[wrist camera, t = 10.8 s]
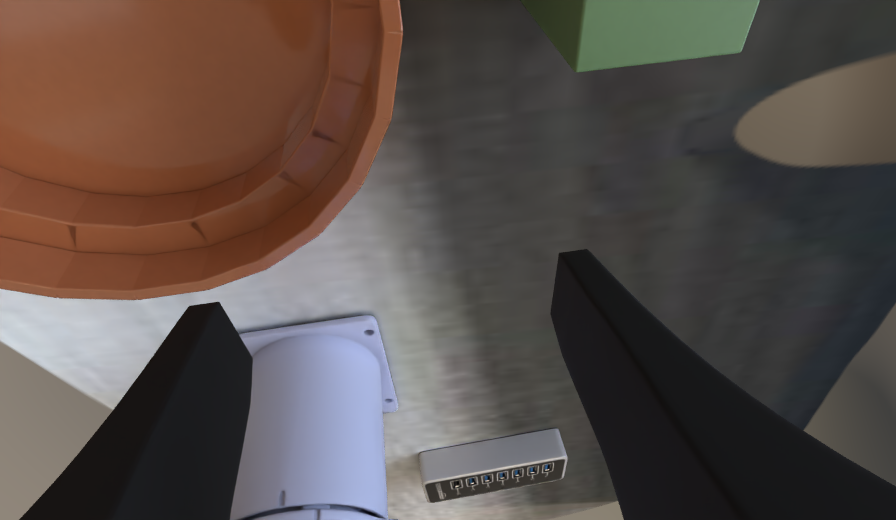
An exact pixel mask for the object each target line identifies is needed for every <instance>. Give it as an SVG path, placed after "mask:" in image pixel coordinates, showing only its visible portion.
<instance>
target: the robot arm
mask: <svg viewBox="0 0 896 520" xmlns="http://www.w3.org/2000/svg"><path fill="white" fill-rule="evenodd" d="M551 317H552V321H553V324H554V328H555V332H556V335H557V339H558V342H559V346H560V349H561V353H562V356H563V358H564V361H565V363H566V366H567V368H568V370H569V373H570V375H571V378H572V380H573V383H574V385H575V387H576V390H577V392H578V395H579V397H580V399H581V402H582V404H583V406H584V409H585V411H586V414H587V416H588V418H589V421H590V423H591V426H592V428H593V430H594V433H595V435H596V438H597V440H598V442H599V445H600V447H601V450H602V453H603V455H604V458H605V461H606V463H607V466H608V469H609V473H610V476H611V479H612V482H613V486H614V489H615V492H616V495H617V498H618V502H619V505H620V508H621V511H622V515H623V518H624V520H896V486H894V485H892V484H890V483H889V482H887V481H885V480H884V479H881V478H880V477H878V476H877V475H875V474H873V473H871V472H870V471H868V470H866V469H864V468H863V467H861V466H859V465H857V464H856V463H854V462H852V461H851V460H849V459H847V458H846V457H844V456H842V455H841V454H839V453H837V452H836V451H834V450H833V449H831V448H829V447H828V446H826V445H825V444H823V443H821V442H820V441H819V440H817V439H815V438H814V437H812V436H811V435H809V434H807V433H806V432H805V431H803V430H801V429H800V428H798V427H797V426H795V425H794V424H792V423H790V422H789V421H787V420H786V419H784V418H783V417H781V416H780V415H778V414H777V413H775V412H774V411H772V410H771V409H770V408H768V407H767V406H765V405H764V404H762V403H761V402H760V401H758V400H757V399H755V398H754V397H752V396H751V395H750V394H748V393H747V392H746V391H744V390H743V389H742V388H740V387H739V386H738V385H736V384H735V383H734V382H732V381H731V380H729V379H728V378H727V377H726V376H724V375H723V374H722V373H720V372H719V371H718V370H717V369H715V368H714V367H713V366H712V365H710V364H709V363H708V362H707V361H705V360H704V359H703V358H702V357H701V356H699V355H698V354H697V353H696V352H695V351H693V350H692V349H691V348H690V347H689V346H688V345H686V344H685V343H684V342H683V341H682V340H680V339H679V338H678V337H677V336H676V335H675V334H674V333H673V332H671V331H670V330H669V329H668V328H667V327H666V326H665V325H664V324H663V323H662V322H661V321H659V320H658V319H657V318H656V317H655V316H654V315H653V314H652V313H651V312H650V311H649V310H648V309H647V308H645V307H644V306H643V305H642V304H641V303H640V302H639V301H638V300H637V299H636V298H635V297H634V296H633V295H632V294H631V293H630V292H629V291H628V290H627V289H626V288H625V287H624V286H623V285H622V284H621V283H620V282H619V281H618V280H617V279H616V278H615V277H614V276H613V275H612V274H611V273H610V272H609V271H608V270H607V269H606V268H605V267H604V266H603V265H602V264H601V263H600V262H599V261H598V259H597V258H596V257H595V256H594V255H593V254H592V253H591V252H590V251H588V250H587V249H584V250H577V251H570V252H563V253H559V257H558V264H557V271H556V278H555V285H554V292H553V299H552V306H551ZM397 409H398V401H397V397H396V393H395V389H394V385H393V381H392V377H391V374H390V370H389V366H388V362H387V358H386V354H385V351H384V347H383V343H382V339H381V335H380V331H379V328H378V324H377V320H376V318H375V317H373V316H370V315H363V316H356V317H349V318H343V319H336V320H329V321H322V322H316V323H309V324H302V325H295V326H288V327H282V328H275V329H268V330H261V331H254V332H248V333H241V334H238V332H237V331H236V329H235V327H234V326H233V324H232V322H231V321H230V319H229V317H228V316H227V314H226V312H225V311H224V309H223V307H222V306H221V304H220V303H219V302H214V303H207V304H200V305H193V306H189V307H188V308H187V310H186V311H185V312H184V314H183V315H182V316H181V318H180V319H179V320H178V322H177V323H176V325H175V326H174V327H173V329H172V330H171V332H170V333H169V334H168V336H167V337H166V339H165V340H164V342H163V343H162V344H161V346H160V347H159V349H158V350H157V351H156V353H155V354H154V356H153V357H152V358H151V360H150V361H149V363H148V364H147V365H146V367H145V368H144V370H143V371H142V372H141V374H140V375H139V376H138V378H137V379H136V380H135V382H134V383H133V384H132V386H131V387H130V388H129V390H128V391H127V393H126V394H125V395H124V397H123V398H122V399H121V401H120V402H119V403H118V405H117V406H116V407H115V409H114V410H113V411H112V413H111V414H110V415H109V416H108V418H107V419H106V420H105V421H104V423H103V424H102V425H101V426H100V428H99V429H98V430H97V431H96V432H95V434H94V435H93V436H92V438H91V439H90V440H89V441H88V442H87V444H86V445H85V446H84V447H83V449H82V450H81V451H80V453H79V454H78V455H77V456H76V457H75V458H74V460H73V461H72V462H71V463H70V464H69V465H68V467H67V468H66V469H65V470H64V471H63V472H62V474H61V475H60V476H59V477H58V478H57V479H56V481H55V482H54V483H53V484H52V485H51V486H50V487H49V488H48V489H47V490H46V491H45V493H44V494H43V495H42V496H41V497H40V498H39V499H38V500H37V501H36V502H35V503H34V504H33V506H32V507H31V508H30V509H29V510H28V511H27V512H26V513H25V514H24V515H23V517H21V518H20V519H19V520H398V519H388V509H387V486H386V466H385V446H384V427H383V414H384V413H390V412H394V411H396V410H397Z"/></svg>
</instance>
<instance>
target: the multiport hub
mask: <svg viewBox="0 0 896 520" xmlns="http://www.w3.org/2000/svg"><path fill="white" fill-rule="evenodd" d="M419 462H420V472H421V482H422V487H423V490H424V493H425V496H426V499H427V502H429V503H435V502H441V501H446V500H452V499H457V498H463V497H468V496H474V495H479V494H484V493H490V492H495V491H501V490H506V489H512V488H517V487H523V486H528V485H534V484H539V483H545V482H550V481H555V480H560V479H562V478H563V477H564V473H565V468H566V463H567V455H566V452H565V448H564V445H563V442H562V439H561V436H560V433H559V430H558V429H549V430H543V431H537V432H532V433H526V434H521V435H515V436H509V437H504V438H498V439H493V440H487V441H482V442H476V443H470V444H465V445H459V446H454V447H448V448H442V449H437V450H431V451H426V452H422V453H420V454H419Z"/></svg>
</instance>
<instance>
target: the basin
mask: <svg viewBox="0 0 896 520" xmlns="http://www.w3.org/2000/svg"><path fill="white" fill-rule="evenodd" d="M402 39H403V23H402V14H401V6H400V0H0V289H5V290H11V291H17V292H23V293H29V294H36V295H42V296H48V297H54V298H57V297H58V298H72V299H112V300H137V299H138V300H142V299H149V298H156V297H163V296H170V295H177V294H184V293H191V292H198V291H205V290H210V289H212V288H215V287H218V286H221V285H224V284H226V283H229V282H232V281H235V280H238V279H241V278H243V277H246V276H249V275H252V274H255V273H258V272H260V271H263V270H266V269H268V268H270V267H271V266H273V265H275V264H276V263H278V262H279V261H281V260H282V259H284V258H285V257H287V256H288V255H290V254H291V253H293V252H294V251H296V250H297V249H299V248H300V247H302V246H303V245H305V244H307V243H308V242H310V241H311V240H313V239H314V238H316V237H317V236H319V234H321V233H322V232H323V231H324V229H325V228H326V227H327V226H328V225H329V224H330V223H331V221H332V220H333V219H334V218H335V217H336V216H337V214H338V213H339V212H340V211H341V210H342V209H343V208H344V206H345V205H346V204H347V203H348V202H349V201H350V199H351V198H352V197H353V196H354V195H355V194H356V192H357V191H358V190H359V189H360V188H361V186H362V185H363V183H364V181H365V179H366V176H367V174H368V172H369V170H370V167H371V165H372V163H373V161H374V158H375V156H376V154H377V152H378V149H379V147H380V145H381V143H382V140H383V138H384V136H385V134H386V131H387V129H388V127H389V125H390V122H391V118H392V113H393V106H394V99H395V91H396V84H397V76H398V69H399V62H400V54H401V47H402Z"/></svg>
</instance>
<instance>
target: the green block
mask: <svg viewBox="0 0 896 520" xmlns="http://www.w3.org/2000/svg"><path fill="white" fill-rule="evenodd" d="M520 1H521V2H522V4H523V5H524V6H525V8H526V9H527V10H528V11H529V13H530V14H531V15H532V17H533V18H534V19H535V21H536V22H537V23H538V25H539V26H540V27H541V29H542V30H543V31H544V32H545V34H546V35H547V36H548V38H549V39H550V40H551V42H552V43H553V44H554V46H555V47H556V48H557V50H558V51H559V52H560V53H561V55H562V56H563V57H564V59H565V60H566V61H567V63H568V64H569V65H570V67H571V68H572V69H573V70H574V72H585V71H594V70H602V69H610V68H618V67H626V66H635V65H643V64H651V63H659V62H668V61H676V60H684V59H692V58H701V57H709V56H717V55H725V54H733V53H739V52H741V51H742V48H743V45H744V42H745V40H746V37H747V34H748V31H749V29H750V26H751V23H752V20H753V18H754V15H755V12H756V9H757V7H758V4H759V1H760V0H520Z"/></svg>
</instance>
